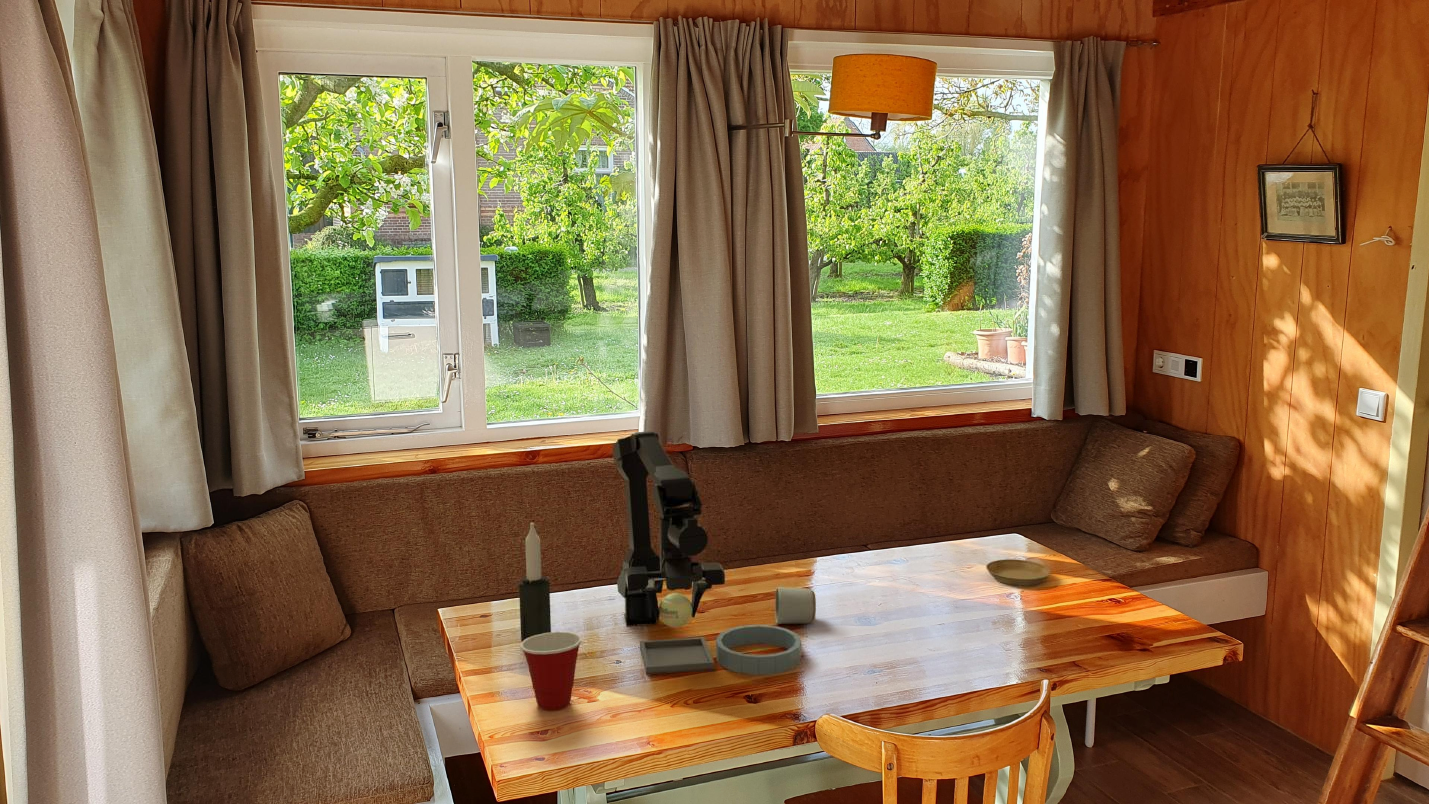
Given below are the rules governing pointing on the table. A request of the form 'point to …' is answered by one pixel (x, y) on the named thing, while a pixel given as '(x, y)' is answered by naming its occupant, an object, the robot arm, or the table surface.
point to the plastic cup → (552, 667)
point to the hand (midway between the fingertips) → (675, 618)
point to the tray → (676, 655)
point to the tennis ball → (675, 610)
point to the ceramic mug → (794, 605)
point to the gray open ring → (758, 662)
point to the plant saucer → (1018, 572)
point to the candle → (534, 592)
